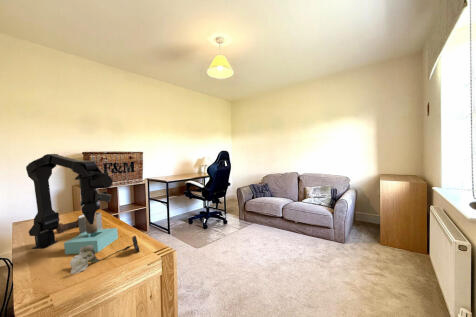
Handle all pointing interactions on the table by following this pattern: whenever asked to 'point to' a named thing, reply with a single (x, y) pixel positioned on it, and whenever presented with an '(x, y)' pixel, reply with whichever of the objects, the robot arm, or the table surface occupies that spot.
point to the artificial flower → (91, 257)
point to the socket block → (91, 240)
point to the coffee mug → (83, 223)
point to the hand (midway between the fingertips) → (91, 223)
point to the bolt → (66, 226)
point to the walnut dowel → (91, 226)
